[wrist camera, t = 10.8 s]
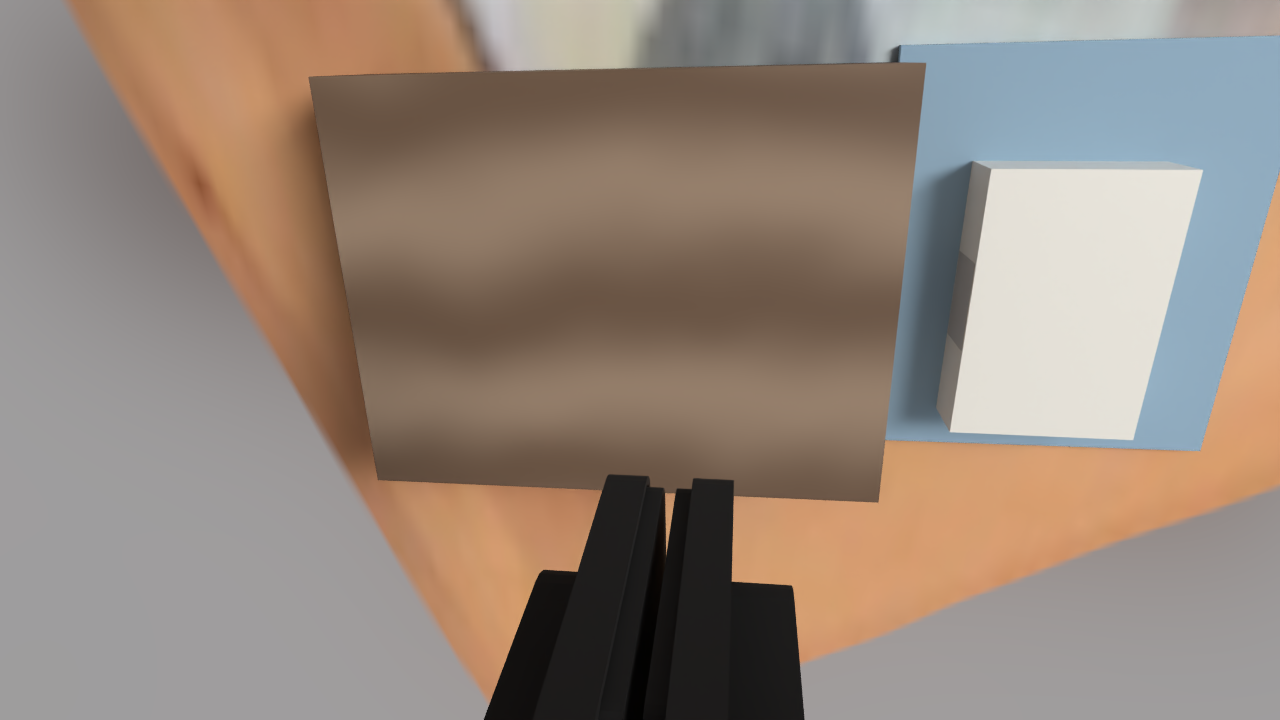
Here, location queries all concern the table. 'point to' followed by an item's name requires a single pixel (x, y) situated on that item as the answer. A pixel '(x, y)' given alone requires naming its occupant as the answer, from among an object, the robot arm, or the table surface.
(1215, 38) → the mat
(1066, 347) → the off-white flat slab
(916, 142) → the brown wooden block
